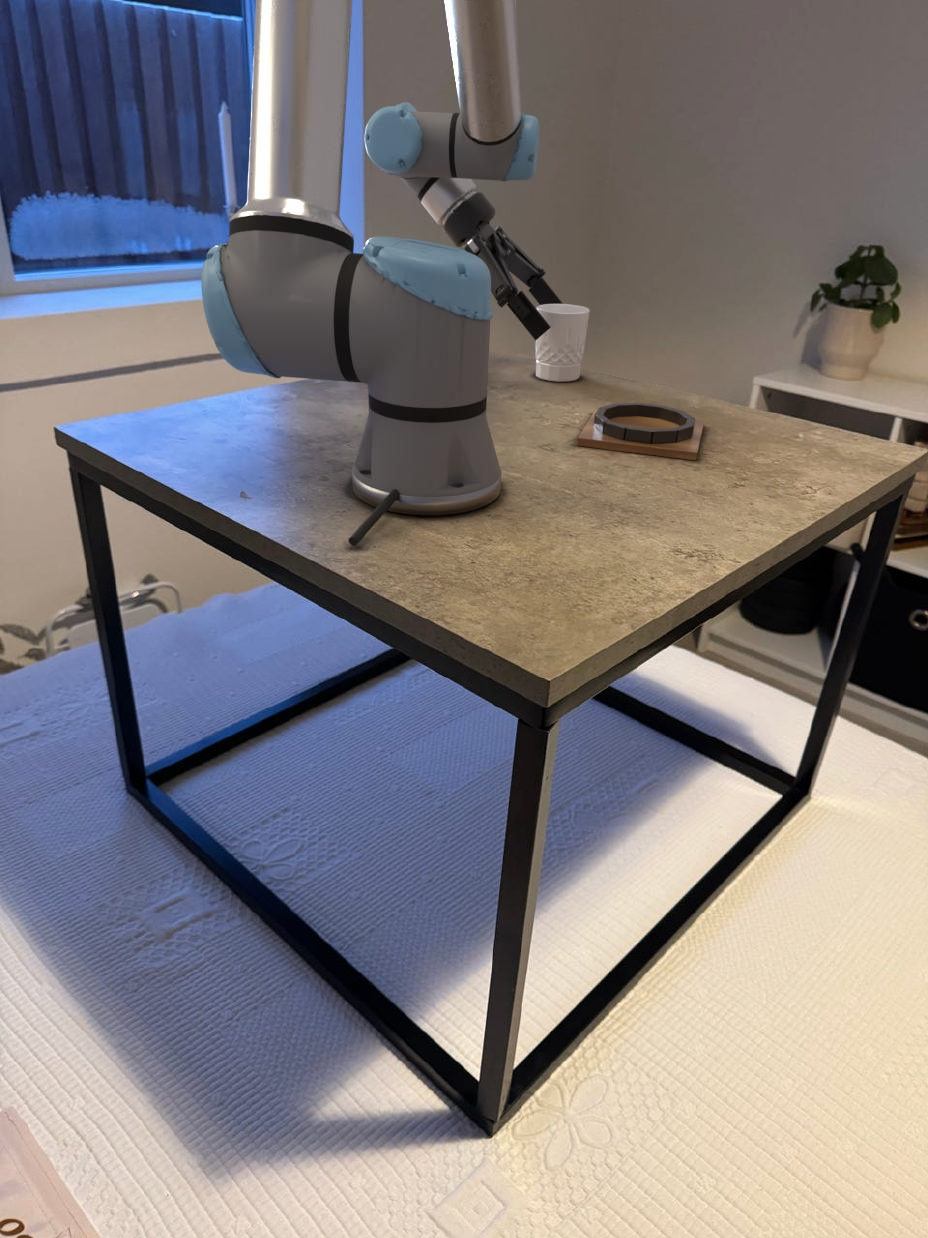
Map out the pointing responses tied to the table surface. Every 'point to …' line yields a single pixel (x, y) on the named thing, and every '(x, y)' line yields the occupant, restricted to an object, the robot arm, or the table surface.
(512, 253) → the robot arm
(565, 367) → the white cup
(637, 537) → the table surface
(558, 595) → the table surface
